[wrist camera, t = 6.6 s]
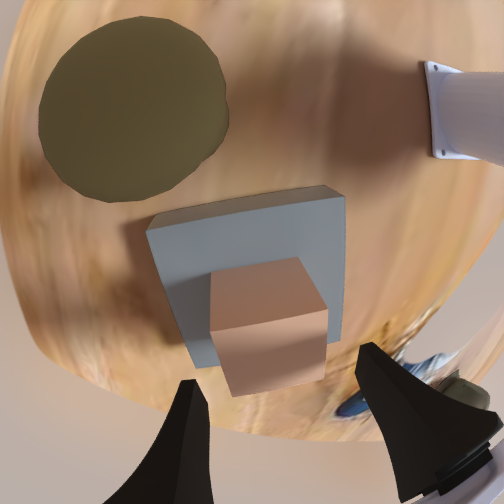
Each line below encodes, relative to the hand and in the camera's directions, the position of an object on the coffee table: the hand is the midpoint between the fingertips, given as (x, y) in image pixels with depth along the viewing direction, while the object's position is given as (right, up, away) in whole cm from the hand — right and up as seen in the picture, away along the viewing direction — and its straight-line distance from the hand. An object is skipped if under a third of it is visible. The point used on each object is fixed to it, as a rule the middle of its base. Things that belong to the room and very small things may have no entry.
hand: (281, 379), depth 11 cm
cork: (-6, +13, +4) cm, 15 cm away
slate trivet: (-1, +4, +8) cm, 9 cm away
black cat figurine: (+34, -18, +24) cm, 45 cm away
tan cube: (-1, +3, +6) cm, 6 cm away
